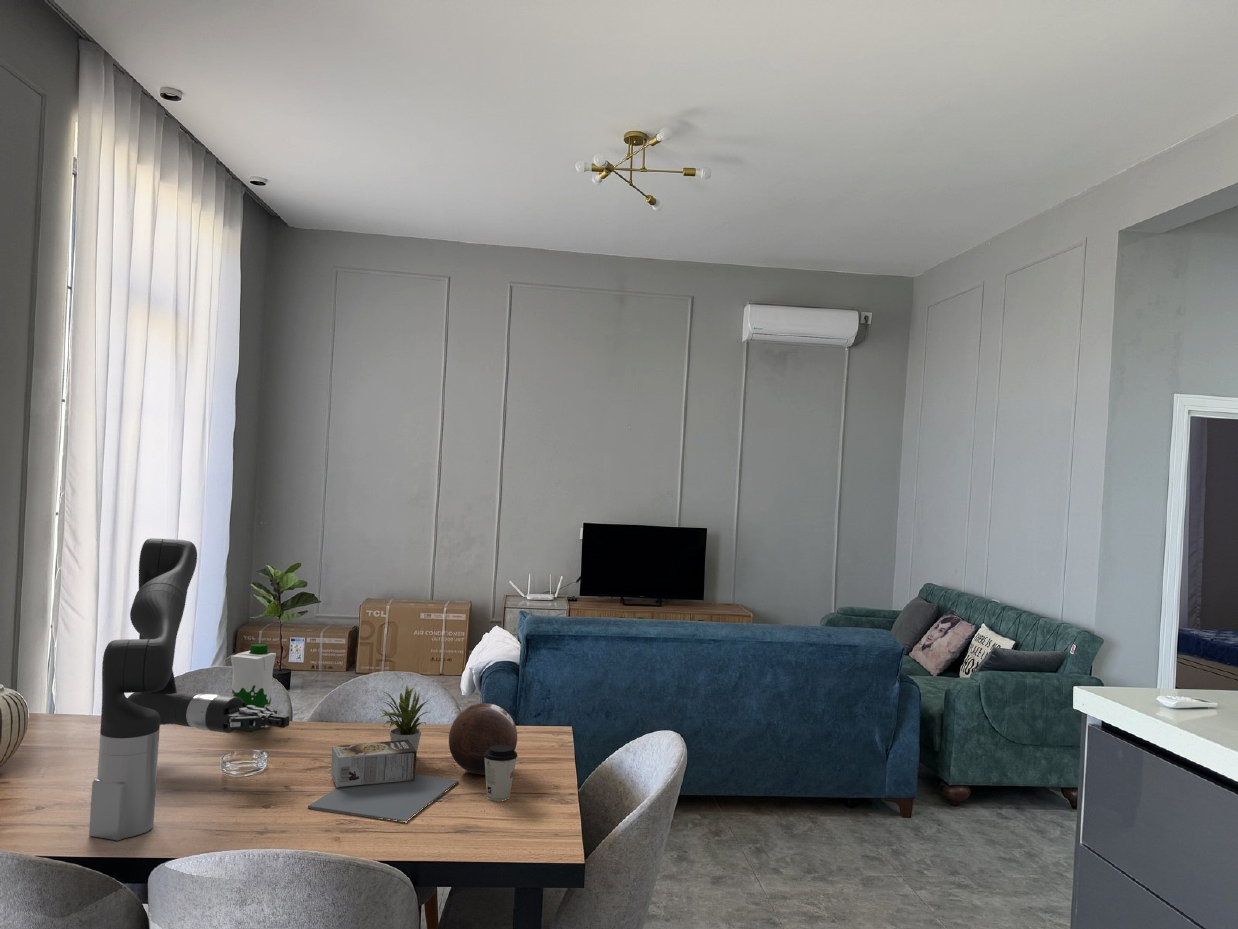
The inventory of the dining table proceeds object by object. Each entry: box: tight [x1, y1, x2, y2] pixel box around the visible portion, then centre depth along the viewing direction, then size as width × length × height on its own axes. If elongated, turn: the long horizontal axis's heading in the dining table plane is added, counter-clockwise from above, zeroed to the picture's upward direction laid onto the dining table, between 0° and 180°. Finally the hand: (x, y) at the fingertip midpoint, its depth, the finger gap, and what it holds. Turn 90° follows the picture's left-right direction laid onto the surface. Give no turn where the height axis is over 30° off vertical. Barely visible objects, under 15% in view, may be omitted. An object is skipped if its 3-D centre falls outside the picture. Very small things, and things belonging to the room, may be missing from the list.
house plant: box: [376, 685, 433, 752], centre depth 204 cm, size 14×14×16 cm
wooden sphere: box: [448, 702, 518, 775], centre depth 196 cm, size 15×15×15 cm
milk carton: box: [230, 642, 277, 732], centre depth 221 cm, size 9×9×20 cm
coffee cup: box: [484, 745, 518, 802], centre depth 181 cm, size 7×7×10 cm
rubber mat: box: [307, 773, 459, 821], centre depth 179 cm, size 24×20×1 cm
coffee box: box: [330, 739, 418, 788], centre depth 187 cm, size 9×6×16 cm
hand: (287, 722), depth 185 cm, fingers closed
